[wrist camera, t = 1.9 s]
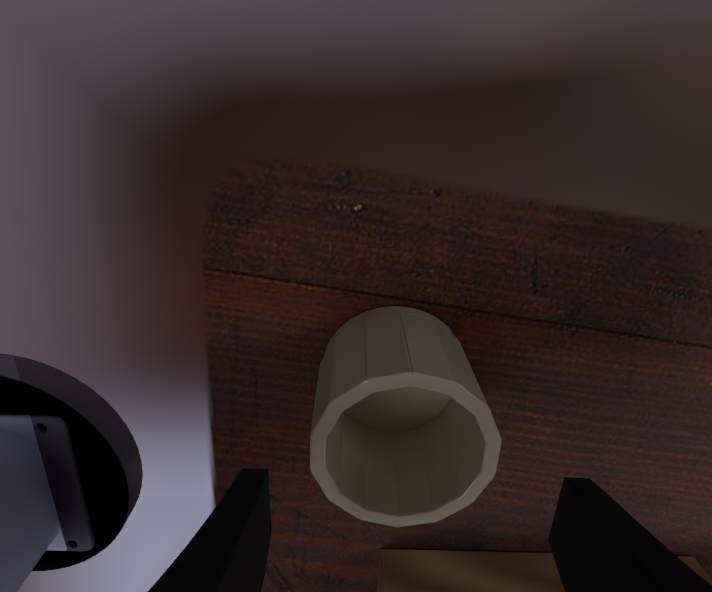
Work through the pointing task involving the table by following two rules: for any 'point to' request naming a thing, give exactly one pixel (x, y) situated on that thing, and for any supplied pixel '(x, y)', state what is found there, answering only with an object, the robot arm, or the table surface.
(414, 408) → the ramekin
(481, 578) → the square wooden board
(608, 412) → the table surface
